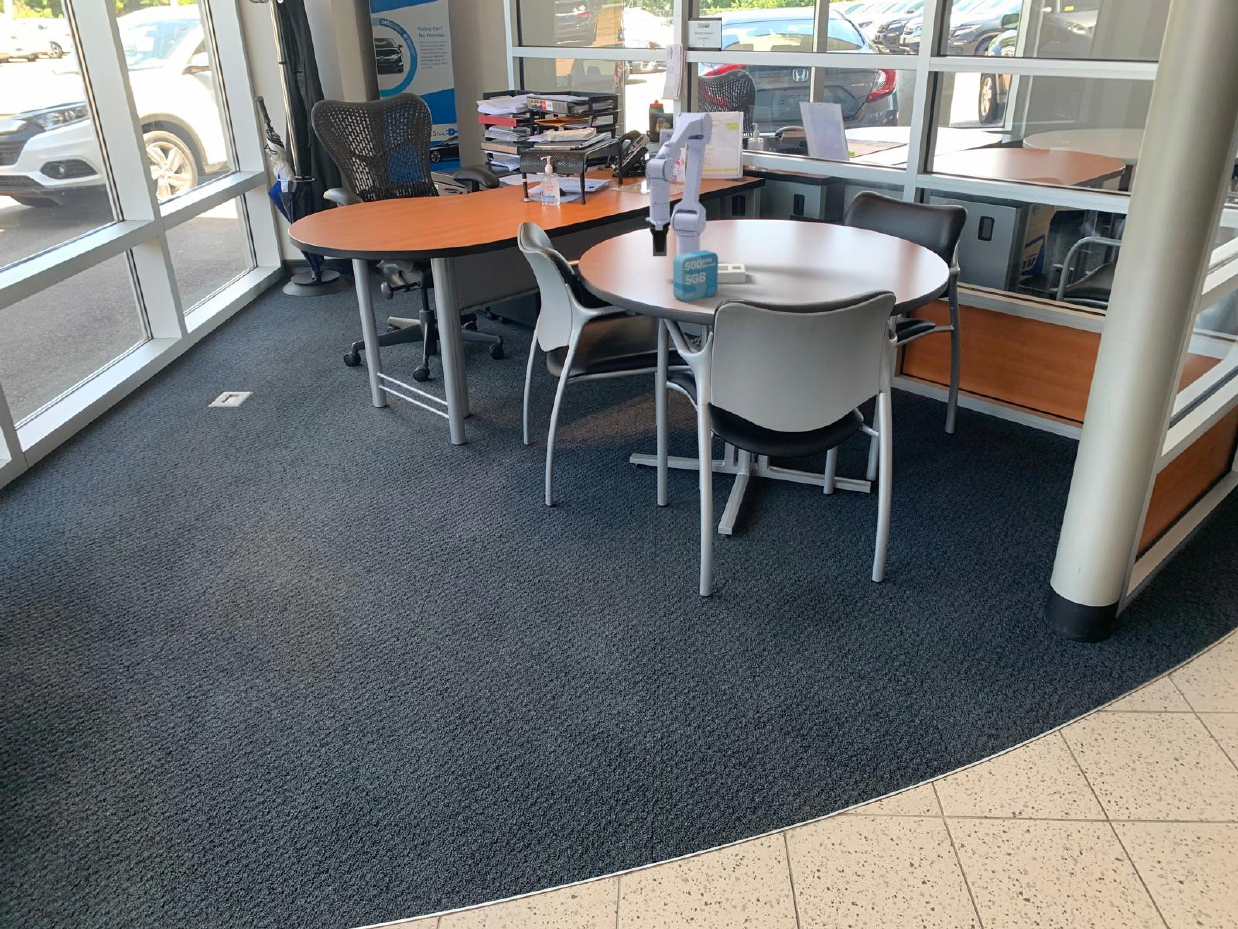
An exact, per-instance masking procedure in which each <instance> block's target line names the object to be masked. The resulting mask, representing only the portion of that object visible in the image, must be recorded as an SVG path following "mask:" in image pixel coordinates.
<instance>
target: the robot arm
mask: <svg viewBox="0 0 1238 929" xmlns="http://www.w3.org/2000/svg"><path fill="white" fill-rule="evenodd" d="M674 122H675V129H674V132H673V134H672V136H671V138H670V139H669V140H667V141H665V142H664V143H663V144H662V146H661V147H660V149H659V151H658V152H657V154H656V156H655V157H654V158H650V160H648V161H647V162H646V165H645V177H646V180H647V186H648V187H649V217H646V218H645V222H650V227H649V231H650V233H651V235H652V240H653V239H654V244H655V249H656V252H663V251H664V246H665V240H666V236H667V237H668V233H669V231H670V227H671V229H672V231H673V232H674V235H676V256H677V255H681V254H686V253H692V252H697V251H701V248H700V247H701V234H703V232H704V231H705V229H706V226H707V217H706V215H707V210H706V208H705V207H704V206H703V204H702V203H700V201H699V199H700V192H701V191H700V190H701V185H702V183H701V182H702V176H703V169H704V161H705V153H706V146H707V145H708V144H710V143H711V140H712V139H711V138H712V134H713V133H712V132H713V124H714V122H713V118H712V116H711V114H710V113H709V112H683V111H680V112H679V113H677V116H676V118H675V121H674ZM684 144H687V146H688V153H687V159H686V160H687V161H686V167H685V168H686V169H685V175H684V176H685V177H684V184H683V193H682V199H681V201H680V202H678V203H676V204H675V205H674V206H673V211H672V215H670V214H671V213H670V210H671V206H670V195H671V194H670V190H671V189H670V188H671V187H670V181H671V179H672V178H673V175H674V170H675V164H676V163H677V162H678V159H679V158H680V156H681V154H682V150H681V149H682V146H683V145H684Z"/></svg>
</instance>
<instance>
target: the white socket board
mask: <svg viewBox="0 0 1238 929" xmlns="http://www.w3.org/2000/svg"><path fill="white" fill-rule="evenodd" d="M723 283H724V284H729V283H730V284H731V283H732V284H733V283H735V284H736V283H737V284H739V283H741V284H744V283H746V268H745V264H744V263H718V281H717V284H723Z"/></svg>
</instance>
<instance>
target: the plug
mask: <svg viewBox="0 0 1238 929" xmlns="http://www.w3.org/2000/svg"><path fill="white" fill-rule="evenodd" d="M667 256H668V235H667V236H666V240H665V246H664V251H663V252H656V249H655V244H654V239H653V238H652V257H667Z"/></svg>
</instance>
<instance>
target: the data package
mask: <svg viewBox="0 0 1238 929" xmlns="http://www.w3.org/2000/svg"><path fill="white" fill-rule="evenodd" d="M672 264H673V268H672V269H673V270H672V271H673V274H672V276H673V277H672V278H673V289H672V290H673V297H674V298H675V299H678V300H681V301H683V302H691V301H695V299H696V300H699V298H701V299H704V298H709V297H713V296H715V295H716V294H717V292H718V283H717V281H718V264H719V256H718V254H717V253H716V252H712V251H711V250H710V251H709V250H707V249H704V250H700V251H697V252H692V253H686V254H681V255H677V254H676V256H675V257H674V258H673V262H672Z"/></svg>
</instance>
